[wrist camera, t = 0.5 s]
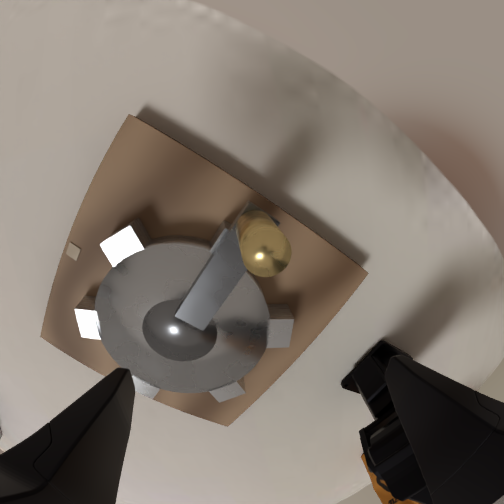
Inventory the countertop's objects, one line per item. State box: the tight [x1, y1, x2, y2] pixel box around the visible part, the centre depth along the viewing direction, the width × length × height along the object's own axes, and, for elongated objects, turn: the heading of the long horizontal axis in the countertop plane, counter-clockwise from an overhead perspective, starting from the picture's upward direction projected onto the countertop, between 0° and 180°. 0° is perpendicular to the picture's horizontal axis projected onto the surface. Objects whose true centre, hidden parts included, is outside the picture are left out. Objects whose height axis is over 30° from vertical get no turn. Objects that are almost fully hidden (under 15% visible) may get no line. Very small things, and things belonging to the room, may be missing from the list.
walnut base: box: [40, 114, 368, 426], centre depth 20 cm, size 20×20×2 cm
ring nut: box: [75, 200, 294, 403], centre depth 16 cm, size 14×17×7 cm
